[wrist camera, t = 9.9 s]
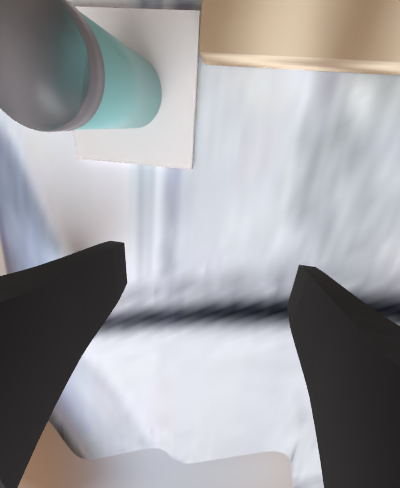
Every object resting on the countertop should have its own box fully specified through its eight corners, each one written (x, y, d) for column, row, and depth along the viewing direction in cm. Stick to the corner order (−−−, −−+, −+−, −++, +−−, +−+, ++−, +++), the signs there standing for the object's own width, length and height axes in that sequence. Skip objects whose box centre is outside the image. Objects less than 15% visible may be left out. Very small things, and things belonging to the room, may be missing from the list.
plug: (163, 54, 16) (84, -23, 7) (161, 132, 18) (96, 138, 9) (95, 48, 16) (-51, -33, 8) (100, 125, 18) (-12, 124, 10)
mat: (200, 13, 15) (199, 10, 14) (192, 168, 19) (191, 169, 18) (59, 8, 16) (55, 5, 15) (80, 157, 20) (77, 158, 19)
